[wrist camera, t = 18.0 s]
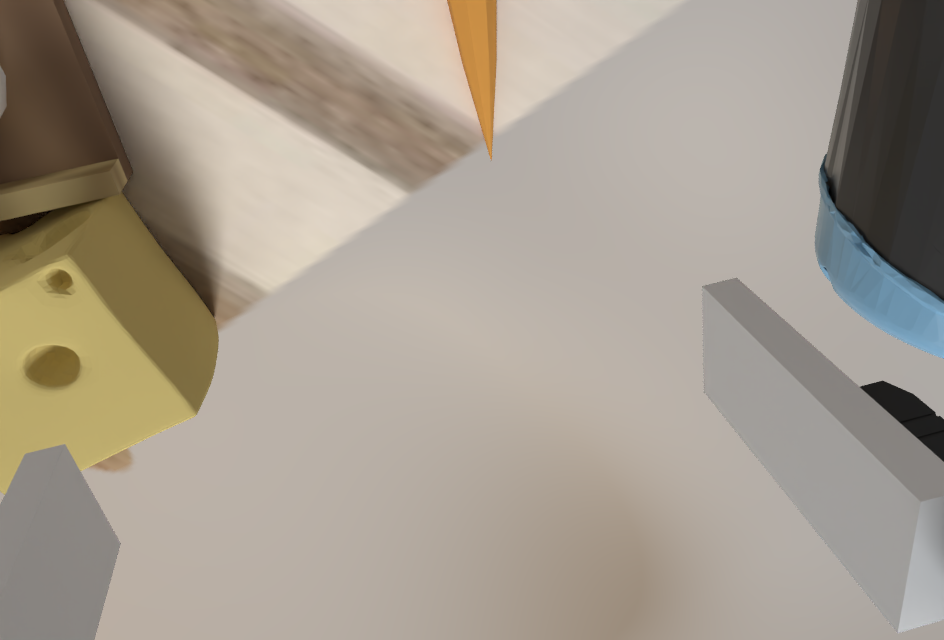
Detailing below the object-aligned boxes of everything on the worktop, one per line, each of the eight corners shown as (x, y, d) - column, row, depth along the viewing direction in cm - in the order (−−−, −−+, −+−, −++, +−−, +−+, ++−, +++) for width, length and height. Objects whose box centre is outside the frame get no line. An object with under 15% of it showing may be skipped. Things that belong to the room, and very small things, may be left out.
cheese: (-60, 256, 41) (-156, 354, 32) (122, 167, 40) (74, 242, 32) (68, 398, 46) (15, 515, 38) (230, 321, 46) (214, 421, 37)
